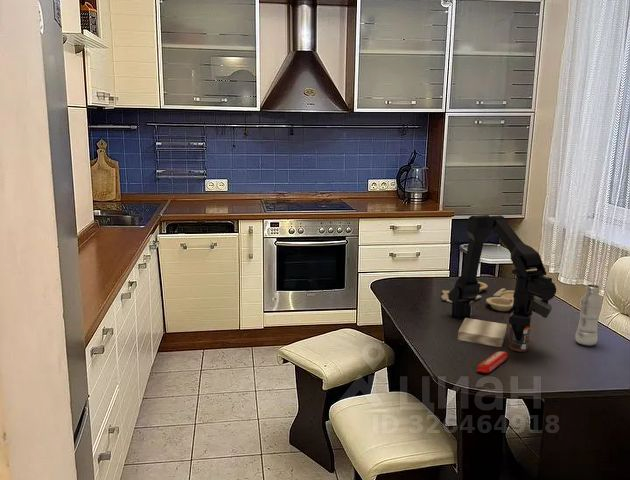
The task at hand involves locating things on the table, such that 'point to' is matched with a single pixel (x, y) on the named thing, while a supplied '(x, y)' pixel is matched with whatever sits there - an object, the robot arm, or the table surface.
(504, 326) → the birch base block
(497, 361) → the candy bar
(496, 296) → the tableware set
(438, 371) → the table surface
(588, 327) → the plastic bottle
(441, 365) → the table surface
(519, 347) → the supplement bottle
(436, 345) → the table surface
